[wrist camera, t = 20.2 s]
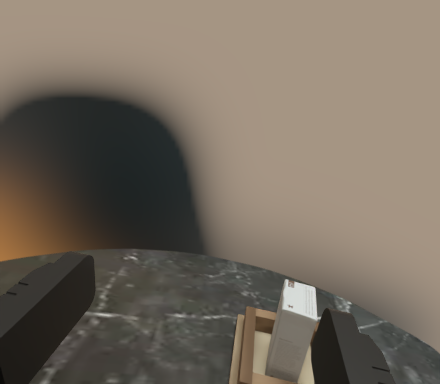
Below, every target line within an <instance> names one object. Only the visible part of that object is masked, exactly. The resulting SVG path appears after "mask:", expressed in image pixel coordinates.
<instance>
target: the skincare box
mask: <svg viewBox="0 0 440 384" xmlns="http://www.w3.org/2000/svg"><path fill="white" fill-rule="evenodd" d="M316 323H317V307H316V292H315V288H314V287H312V286H308V285H305V284H301V283H297V282H293V281H289V280H285V282H284V285H283V289H282V293H281V297H280V301H279V306H278V310H277V314H276V318H275V323H274V327H273V331H272V335H271V339H270V344H269V350H268V356H267V363H266V370H265V375H266V376H270V377H274V378H278V379H282V380H286V381H290V382H294V383H298V380H299V376H300V373H301V370H302V367H303V364H304V361H305V358H306V354H307V351H308V348H309V345H310V342H311V339H312V335H313V332H314V329H315V326H316Z"/></svg>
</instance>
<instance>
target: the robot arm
mask: <svg viewBox="0 0 440 384" xmlns="http://www.w3.org/2000/svg"><path fill="white" fill-rule="evenodd" d="M94 296H95V272H94V259H93V257H92V256H90V255H86V254H81V253H77V252H72V251H70V252H67V253H66V254H64V255H63V256H62V257H61V258H60V259H58V260H57V261H56V262H55V263H48V264H46V265H44V266H42V267H40V268H37V269H35V270H33V271H32V272H30V273H29V274H28V275H27V276H25V277H24V278H23V279H22V280H20V281H19V283H18V284H15V285H14V286H13V287H12V288H10V289H9V290H8V291H7V293H6V294H3V295H2V296H0V384H29V382H30V381H31V380H32V379H33V377H34V376H35V375H36V374H37V372H38V371H39V370H40V369H41V367H42V366H43V365H44V364H45V362H46V361H47V360H48V359H49V357H50V356H51V355H52V354H53V352H54V351H55V350H56V349H57V347H58V346H59V345H60V344H61V342H62V341H63V340H64V338H65V337H66V336H67V335H68V333H69V332H70V331H71V330H72V328H73V327H74V326H75V325H76V323H77V322H78V321H79V320H80V318H81V317H82V316H83V315H84V313H85V312H86V311H87V310H88V308H89V307H90V305H91V303H92V301H93V299H94ZM311 363H312V370H313V376H314V383H315V384H395V381H394V379H393V377H392V374H390V370H389V367H388V365H387V363H386V360H385V358H384V355H383V353H382V351H381V350H380V349H379V348H378V346H377V345H376V344H375V343H374V341H373V340H372V339H371V338H370V336H369V335H365V334H361V333H359V330H358V327H357V324H356V322H355V319H354V317H353V315H352V314H351V313H347V312H342V311H338V310H333V309H329V308H326V309H325V310H324V312H323V314H322V317H321V320H320V323H319V325H318V328H317V331H316V334H315V336H314V339H313V342H312V347H311Z"/></svg>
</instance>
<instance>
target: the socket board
mask: <svg viewBox="0 0 440 384" xmlns="http://www.w3.org/2000/svg"><path fill="white" fill-rule="evenodd" d="M276 314H277V313H274V312H270V311H265V310H261V309H257V308H252V307H248V306H247V307H246V312H245V316H244V315H240V314H238V318H237V324H236V332H235V339H234V347H233V354H232V362H231V370H230V377H229V384H315V383H314V376H313V370H312V363H311V347H312V342H313V339H314V336H315V334H316V331H317V328H318V325H319V322H317V323H316V326H315V329H314V332H313V335H312V339H311V342H310V345H309V348H308V351H307V354H306V358H305V361H304V364H303V367H302V370H301V373H300V376H299V380H298V383H294V382H290V381H286V380H282V379H278V378H274V377H270V376H266V375H265V370H266V363H267V356H268V350H269V344H270V339H271V335H272V331H273V327H274V323H275V318H276Z"/></svg>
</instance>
